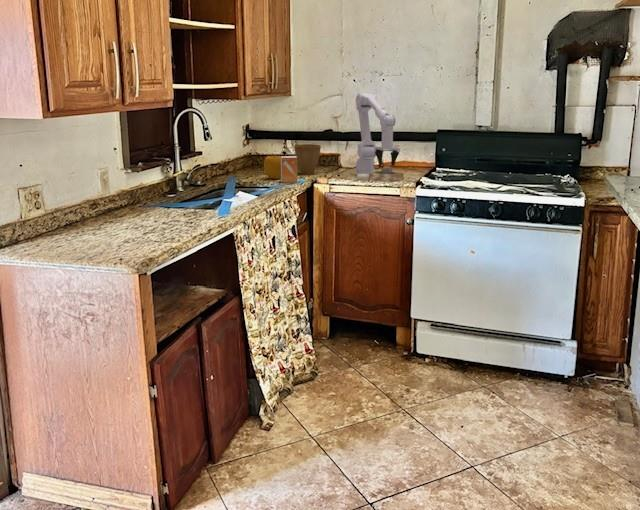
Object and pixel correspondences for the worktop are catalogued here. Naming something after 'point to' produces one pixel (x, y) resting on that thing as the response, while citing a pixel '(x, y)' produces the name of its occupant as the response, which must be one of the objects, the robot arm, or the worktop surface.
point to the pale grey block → (362, 176)
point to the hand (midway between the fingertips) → (386, 165)
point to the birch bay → (386, 176)
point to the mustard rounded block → (273, 166)
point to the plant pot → (307, 157)
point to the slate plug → (387, 170)
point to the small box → (289, 169)
